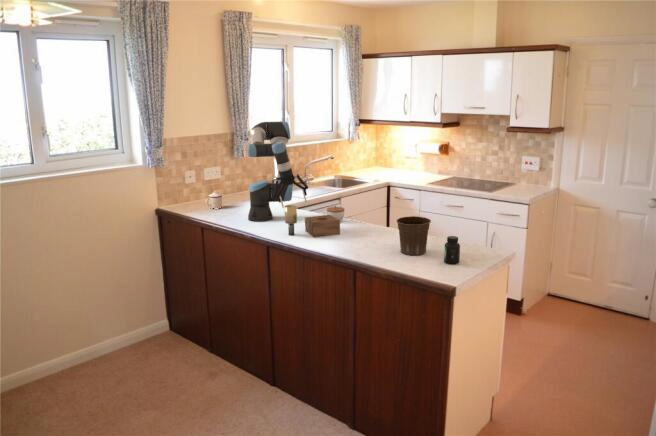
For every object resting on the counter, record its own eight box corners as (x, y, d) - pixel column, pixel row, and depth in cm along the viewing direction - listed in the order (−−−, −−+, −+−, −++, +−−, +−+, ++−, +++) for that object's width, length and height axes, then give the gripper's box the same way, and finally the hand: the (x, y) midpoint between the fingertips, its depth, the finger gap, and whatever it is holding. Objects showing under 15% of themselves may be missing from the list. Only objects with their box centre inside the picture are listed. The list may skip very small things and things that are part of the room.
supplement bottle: (442, 264, 244) (443, 238, 241) (445, 259, 250) (446, 234, 248) (458, 265, 242) (459, 239, 239) (460, 260, 248) (461, 235, 245)
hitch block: (305, 231, 304) (304, 217, 302) (329, 228, 310) (329, 214, 308) (314, 237, 291) (314, 223, 289) (340, 234, 296) (339, 220, 294)
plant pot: (407, 259, 252) (408, 225, 248) (390, 250, 266) (390, 218, 263) (436, 254, 258) (437, 222, 254) (418, 245, 273) (418, 215, 269)
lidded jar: (333, 218, 333) (333, 203, 331) (348, 220, 327) (347, 205, 325) (323, 221, 324) (323, 206, 322) (338, 224, 318) (337, 208, 316)
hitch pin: (284, 234, 299) (283, 205, 295) (295, 232, 301) (294, 204, 297) (287, 236, 293) (286, 208, 289) (298, 235, 295) (298, 207, 292)
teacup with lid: (219, 206, 373) (218, 189, 370) (225, 208, 366) (224, 191, 364) (203, 208, 366) (201, 191, 363) (209, 210, 359) (208, 193, 356)
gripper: (263, 176, 301) (273, 211, 307) (306, 165, 301) (315, 200, 308) (263, 173, 308) (273, 207, 315) (305, 162, 308) (314, 196, 315)
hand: (294, 204), depth 311 cm, fingers open, 13 cm apart
